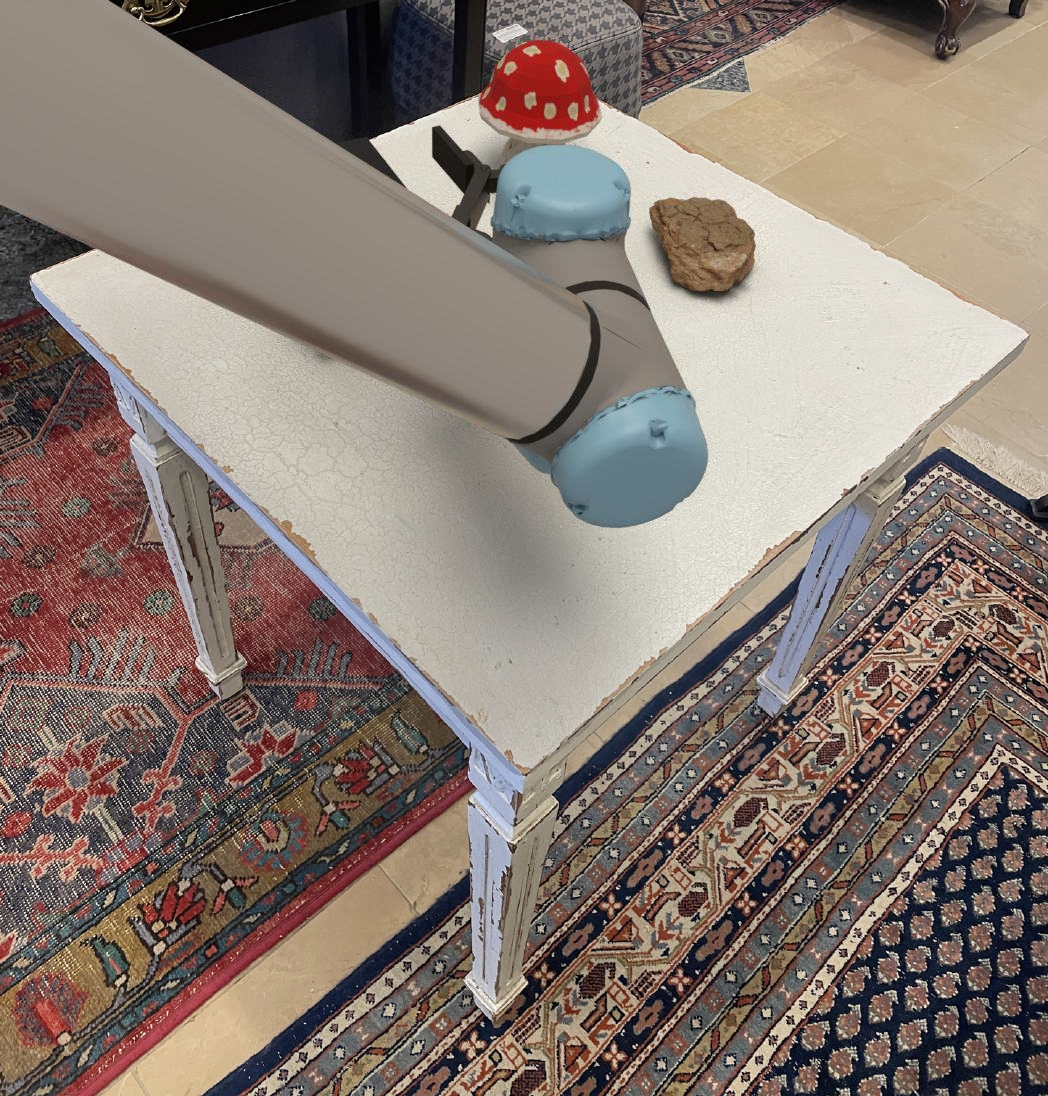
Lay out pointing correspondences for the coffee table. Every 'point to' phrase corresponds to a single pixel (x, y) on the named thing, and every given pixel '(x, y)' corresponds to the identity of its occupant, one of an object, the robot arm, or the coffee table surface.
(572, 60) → the decorative mushroom
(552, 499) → the coffee table surface
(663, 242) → the rock
